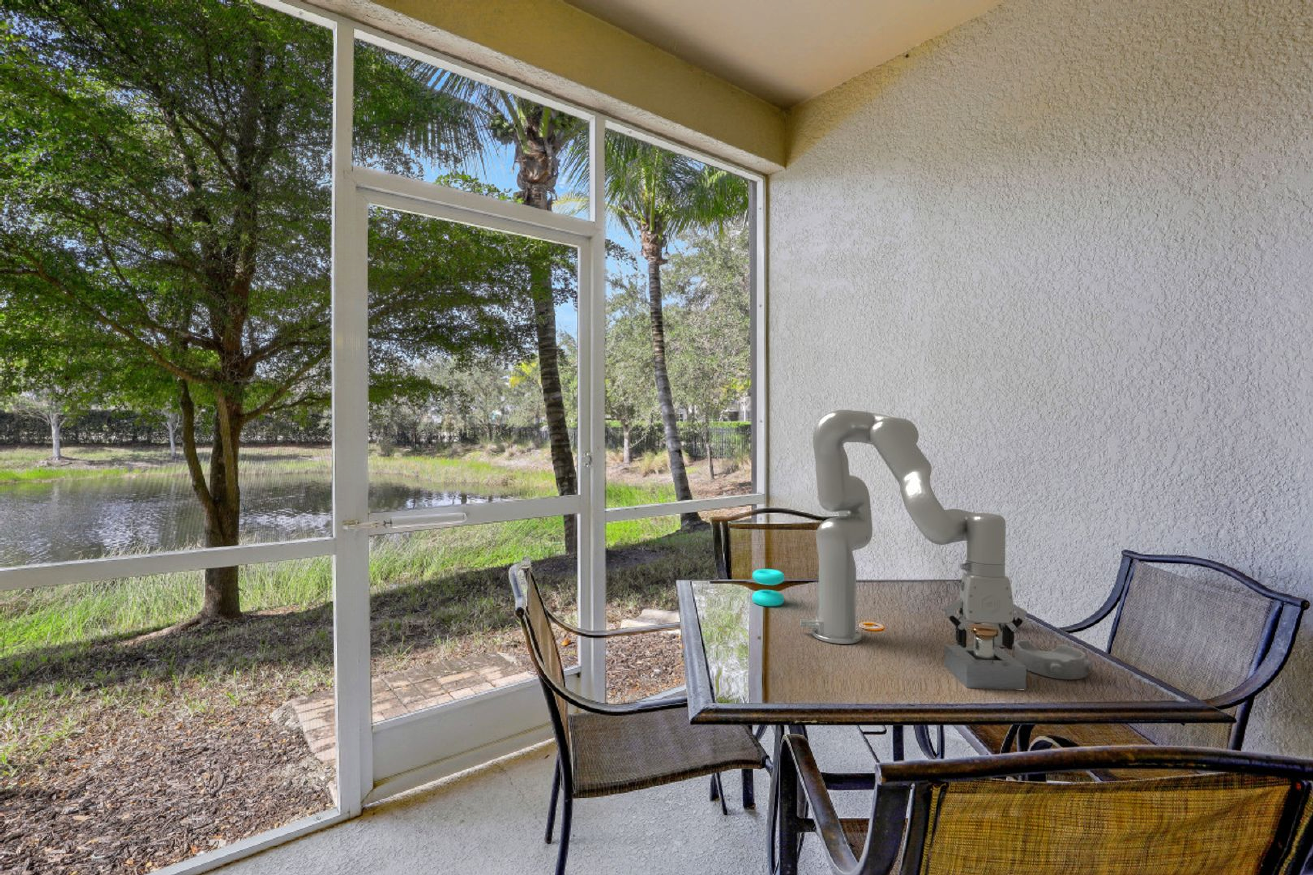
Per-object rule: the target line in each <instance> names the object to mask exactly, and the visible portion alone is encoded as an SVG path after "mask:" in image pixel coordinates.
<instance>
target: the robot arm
mask: <svg viewBox="0 0 1313 875" xmlns="http://www.w3.org/2000/svg"><path fill="white" fill-rule="evenodd" d="M919 438H920V437H919V430H918V428H917V427H916V425H915V424H914V423H913V422H912V421H911V420H908V419H906V418H901V417H895V416H890V415H889V416H888V415H885V414H879V413H874V412H869V411H863V410H853V409H837V410H833V411H831V412H828V413H826V414H825V415H824V416H822V417H821V418H820V419H819V420H818V421H817V423H816V424H815V427H814V429H813V434H812V447H813V452H814V460H815V461H814V462H815V474H816V475H815V476H816V488H817V498H818V502H819V505H820V507H821V508H822V509H823V510H825V511H826V512H832V513H833V512H834V513H836V512H837V514H838V516H835V517H834V516H833V517H830V518H827V519H825V520H824V521H822V522H821V523H820V524H819V526H818V527H817V530H816V533H815V541H816V547H817V549H816V550H817V557H818V599H817V600H818V603H817V604H818V605H817V606H818V609H817V610H818V611H817V614H815V616H814V617H815V618H811V619H807V618H806V619H805V618H799V627H805V628H806V629H809V630H810V629H811V635H812V636H813V637H814V638H816V639H817V640H820V641H822V642H825V643H829V644H837V645H849V644H850V645H851V644H855V643H859V642H860V641H861V640H862V633H861V632H860V631H859V630H857V629H856V621H857V620H856V617H857V616H856V614H857V613H856V612H857V610H856V609H857V564H856V560H855V558H854V554H853V553H854V552H853V551H857V550H861V549H863V548H865V547H867V546H868V545H869V543H870V542H871V540H872V537H873V520H872V519H873V518H872V507H871V506H872V505H871V497H870V491H869V489H868V487H867V485H866V483H865V482H864V480H862V478H860V477H858V476H855V475H851V474H850V469H849V468H850V466H849V458H848V454H847V453H846V450H845V447H844V444H845V443H862V444H868V445H872V446H873V447H874V448H875V450H876V451H877V452H878V454H879V456H880V457H881V458H882V460H883V461H884V464H886V466H887V467H888V469H889V470H890V472H891V473H892V475H893V476H894V478H895V480H896V481H897V482H898V485H899V491H900V493H901V494H900V495H901V498H902V501H903V504H904V507H905V510H906V511H907V513H908V515H909V517H910V518H911V520H912V521H913V523H914V524H915V525H916V527H917V528H918V531H919V532H920V534H922V536H924V538H926V540H928V541H929V542H931V543H932V544H935V545H939V546H945V545H949V544H953V543H958V542H959V543H960V542H964V541H965V542H966V559H965V562H964V563H960V564H959V568H960V570H964V571H965V572H966V573H965V572H964V573H963V575H962V580H961V583H960V589H959V596H958V597H959V598H958V600H956V601H954V602H951V603H949V604H947V605H945V606H944V607H943V612H944V613H945V615H946V617H947V619H948V620H949V621H950V622H951V623H952V624H953V625H954V626H955V641H956V643H957V645H960V646H961V647H962V648H966V646H967V639H968V638H967V636H968V635H967V634H968V633H967V632H968V631H967V630H966V629H965V628H966V627H967V625H969V623H972V624H974V623H991V624H1001V625H1004V627H1002V631H1001V634H1002V645H1003V646H1005V647H1004V648H1006V649H1007V650H1010V651H1011V650H1013V649H1012V645H1013V644H1014V641H1015V632H1016V631H1017V630H1018V628H1019V627H1020V626H1021V625H1022V624H1023V623H1024V619H1025V618H1026V616H1027V614H1028V611H1027V610H1026V609H1024V608H1022V607H1020V606H1018V605H1016V604H1014V599H1013V592H1012V590H1013V589H1012V586H1011V580H1010V577H1008V576H1006V537H1007V536H1006V532H1007V530H1006V529H1007V526H1006V519H1005V518H1004V517H1003V516H1002V515H1000V514H995V513H989V512H972V511H968V510H964V509H959V508H949V509H945V508H944V507H943V506H942V504H941V503H940V501H939V499H938V498H937V496H936V494H935V492H934V491H933V488H932V486H931V485H932V484H931V474H932V467H933V466H932V463H930V461H929V459H928V458H927V457H926V455H925V454H924V453H923V451H922V450H921V449H920V447H919V446H918V444H917V443H918V442H919ZM957 610H958V613H959V616H958V617H956V616H955V614H954V611H957ZM1014 612H1016V614H1015V613H1014ZM1014 614H1015V615H1014Z"/></svg>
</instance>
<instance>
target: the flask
mask: <svg viewBox="0 0 1313 875" xmlns="http://www.w3.org/2000/svg"><path fill="white" fill-rule="evenodd" d="M981 624H985V625H990V626H993V627H996V628H997V629H998V636H997V637H994V647H999V648H1006V647H1005V646H1003V645H1002V631H1001V627H1000V628H999V625H998V624H991V623H981Z"/></svg>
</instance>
